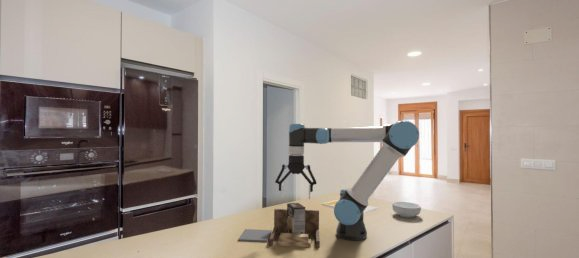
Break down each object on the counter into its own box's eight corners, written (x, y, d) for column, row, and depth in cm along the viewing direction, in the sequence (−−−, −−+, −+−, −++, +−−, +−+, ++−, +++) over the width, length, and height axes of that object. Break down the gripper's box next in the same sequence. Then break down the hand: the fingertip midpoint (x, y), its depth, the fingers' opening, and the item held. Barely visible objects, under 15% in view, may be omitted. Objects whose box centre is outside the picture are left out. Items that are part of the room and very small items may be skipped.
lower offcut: (310, 244, 135) (310, 239, 135) (310, 248, 131) (310, 242, 131) (279, 242, 136) (279, 237, 136) (278, 246, 132) (278, 241, 132)
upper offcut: (308, 239, 135) (308, 234, 135) (308, 242, 131) (308, 237, 131) (280, 238, 136) (280, 232, 136) (279, 241, 132) (279, 235, 132)
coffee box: (286, 235, 145) (286, 203, 145) (298, 233, 147) (298, 202, 147) (292, 242, 136) (293, 207, 136) (305, 240, 138) (305, 206, 138)
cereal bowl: (424, 220, 171) (424, 208, 171) (395, 219, 173) (395, 207, 173) (416, 212, 187) (416, 201, 187) (389, 211, 190) (390, 200, 190)
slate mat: (271, 231, 149) (271, 230, 149) (267, 242, 136) (267, 240, 136) (245, 230, 151) (245, 229, 151) (238, 240, 137) (238, 239, 137)
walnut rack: (318, 233, 147) (319, 210, 148) (319, 247, 130) (319, 221, 130) (274, 231, 149) (274, 208, 149) (269, 245, 131) (269, 219, 131)
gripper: (321, 154, 144) (320, 197, 144) (272, 153, 146) (271, 195, 146) (322, 156, 137) (321, 200, 137) (270, 154, 139) (269, 198, 139)
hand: (295, 198), depth 142 cm, fingers open, 13 cm apart
